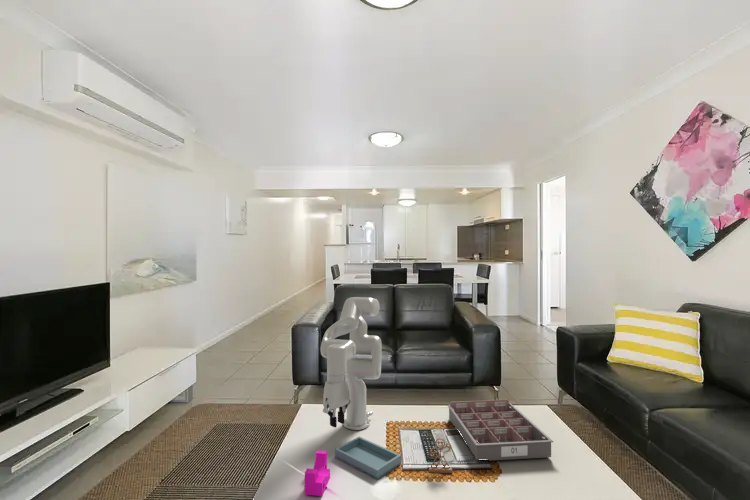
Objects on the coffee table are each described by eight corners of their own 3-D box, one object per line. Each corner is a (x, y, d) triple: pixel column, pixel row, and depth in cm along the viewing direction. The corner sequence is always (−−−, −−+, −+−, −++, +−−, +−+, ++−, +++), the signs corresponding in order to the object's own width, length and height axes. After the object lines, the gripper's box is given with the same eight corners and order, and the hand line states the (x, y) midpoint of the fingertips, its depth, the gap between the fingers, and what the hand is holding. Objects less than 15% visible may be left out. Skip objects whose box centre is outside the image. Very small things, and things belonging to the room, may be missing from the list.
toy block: (322, 496, 132) (322, 474, 132) (304, 494, 133) (304, 472, 133) (333, 471, 146) (333, 451, 146) (317, 470, 147) (317, 450, 147)
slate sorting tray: (359, 444, 166) (359, 436, 166) (401, 464, 151) (401, 455, 151) (335, 457, 156) (335, 448, 156) (377, 480, 140) (377, 470, 140)
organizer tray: (475, 466, 150) (475, 440, 150) (447, 420, 190) (447, 400, 190) (554, 461, 153) (554, 436, 153) (509, 418, 193) (509, 398, 193)
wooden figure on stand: (428, 472, 145) (428, 440, 145) (428, 466, 149) (428, 435, 149) (452, 473, 145) (452, 441, 145) (451, 467, 149) (451, 436, 149)
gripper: (346, 369, 157) (346, 414, 157) (313, 380, 145) (314, 428, 145) (359, 374, 152) (359, 420, 152) (326, 385, 140) (326, 435, 140)
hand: (337, 424), depth 148 cm, fingers open, 3 cm apart
